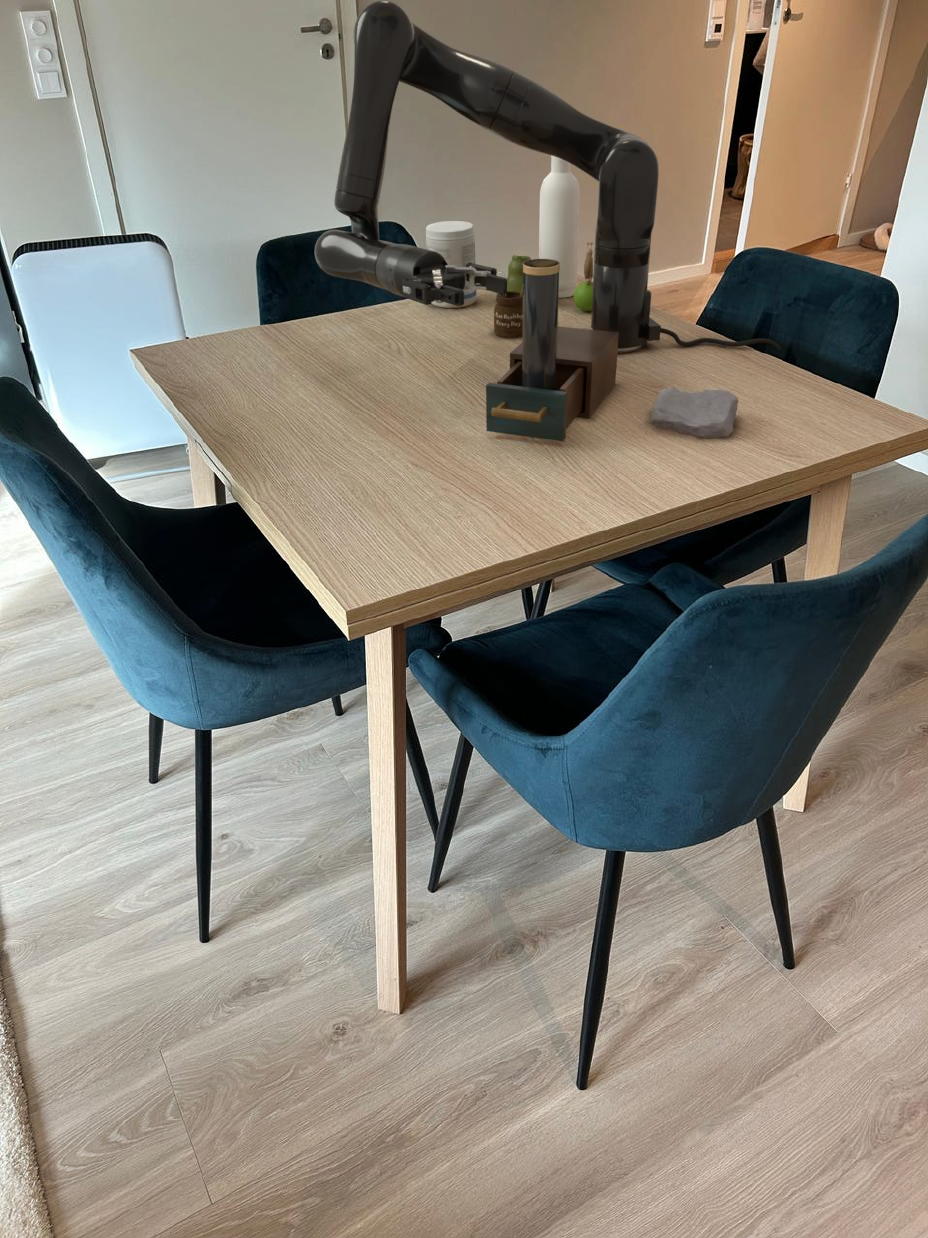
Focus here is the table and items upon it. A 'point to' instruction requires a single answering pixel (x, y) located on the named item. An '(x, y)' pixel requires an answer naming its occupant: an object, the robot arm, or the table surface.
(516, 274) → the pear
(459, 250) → the supplement tub
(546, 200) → the bottle
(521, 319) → the utensil holder
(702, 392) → the stone block
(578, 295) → the snail figurine
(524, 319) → the black cylinder
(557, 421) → the drawer
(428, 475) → the table surface
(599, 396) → the cabinet
